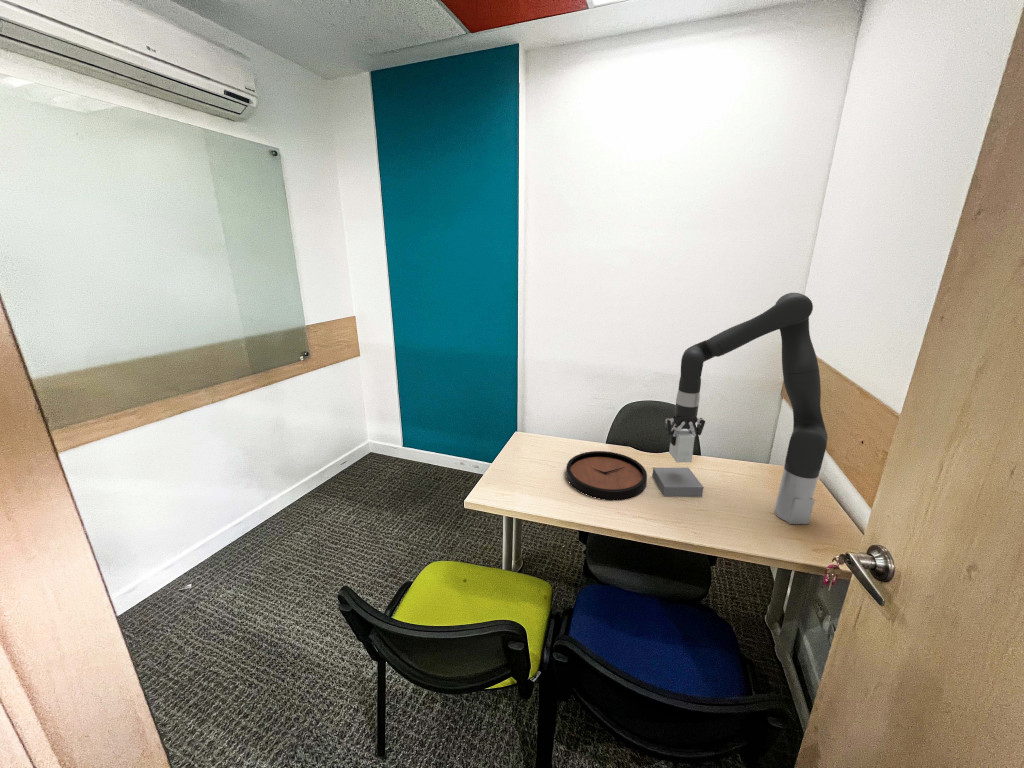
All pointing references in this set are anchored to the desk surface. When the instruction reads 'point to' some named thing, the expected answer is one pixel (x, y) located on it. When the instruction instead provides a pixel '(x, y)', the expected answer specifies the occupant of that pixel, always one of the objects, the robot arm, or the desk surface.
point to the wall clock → (606, 475)
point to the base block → (677, 482)
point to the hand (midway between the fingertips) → (681, 444)
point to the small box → (682, 447)
